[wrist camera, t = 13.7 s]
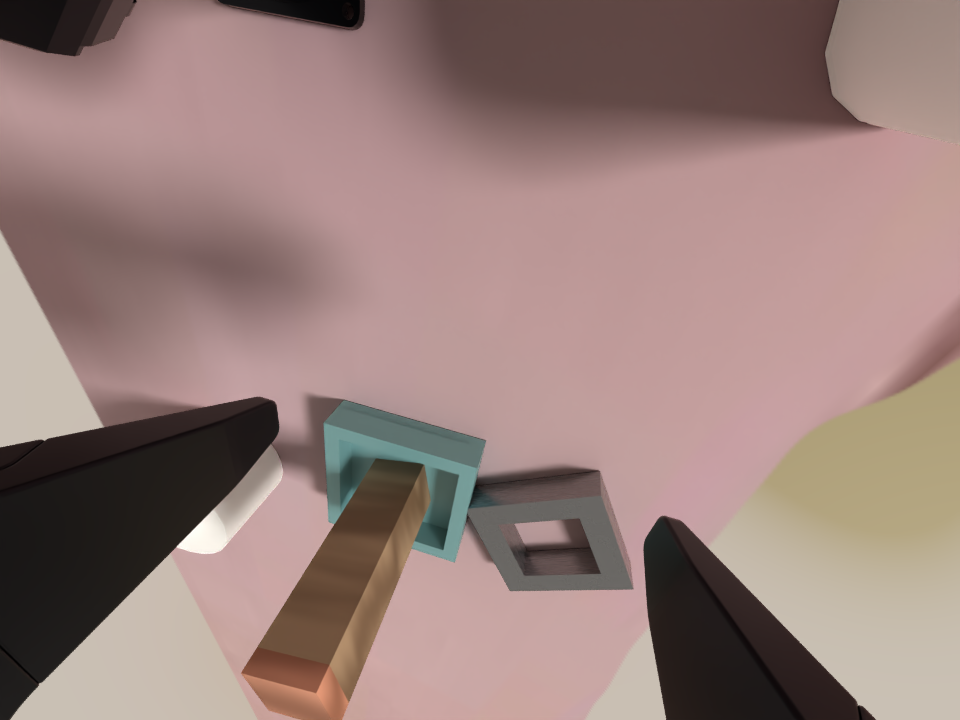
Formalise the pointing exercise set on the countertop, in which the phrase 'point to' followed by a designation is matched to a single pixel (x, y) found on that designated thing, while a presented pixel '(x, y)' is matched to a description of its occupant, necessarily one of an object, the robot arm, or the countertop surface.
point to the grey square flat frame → (546, 502)
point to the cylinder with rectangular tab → (236, 506)
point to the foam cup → (898, 64)
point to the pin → (341, 598)
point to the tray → (383, 435)
